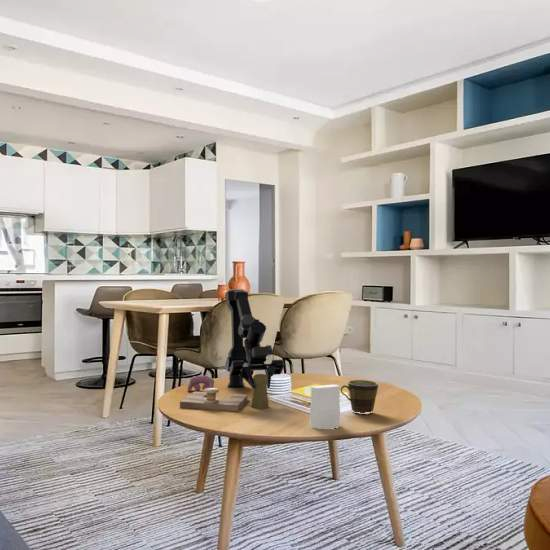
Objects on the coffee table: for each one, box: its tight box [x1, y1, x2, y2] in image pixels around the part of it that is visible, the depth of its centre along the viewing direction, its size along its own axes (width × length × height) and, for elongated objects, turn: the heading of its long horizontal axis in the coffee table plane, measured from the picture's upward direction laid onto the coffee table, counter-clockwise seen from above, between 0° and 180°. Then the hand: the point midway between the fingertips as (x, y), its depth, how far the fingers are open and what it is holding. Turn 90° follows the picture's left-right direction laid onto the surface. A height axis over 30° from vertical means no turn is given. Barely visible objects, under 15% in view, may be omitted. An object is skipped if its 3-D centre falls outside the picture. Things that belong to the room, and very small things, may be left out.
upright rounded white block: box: [309, 383, 341, 430], centre depth 164 cm, size 9×9×12 cm
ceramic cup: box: [340, 379, 379, 413], centre depth 180 cm, size 13×10×10 cm
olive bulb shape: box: [250, 373, 269, 409], centre depth 186 cm, size 6×6×11 cm
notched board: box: [179, 387, 249, 412], centre depth 188 cm, size 16×20×6 cm
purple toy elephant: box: [187, 374, 215, 392], centre depth 208 cm, size 10×5×7 cm, turn 85°
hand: (261, 388), depth 185 cm, fingers closed on olive bulb shape, 5 cm apart
